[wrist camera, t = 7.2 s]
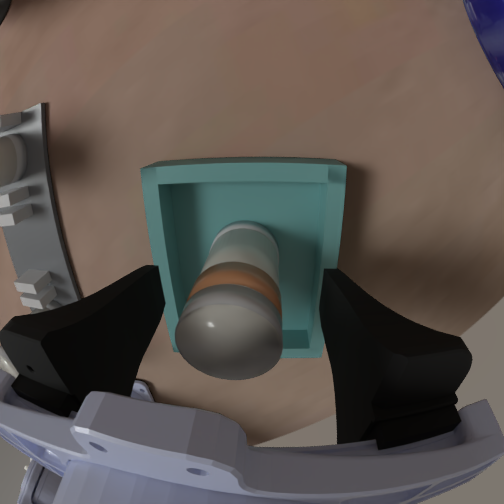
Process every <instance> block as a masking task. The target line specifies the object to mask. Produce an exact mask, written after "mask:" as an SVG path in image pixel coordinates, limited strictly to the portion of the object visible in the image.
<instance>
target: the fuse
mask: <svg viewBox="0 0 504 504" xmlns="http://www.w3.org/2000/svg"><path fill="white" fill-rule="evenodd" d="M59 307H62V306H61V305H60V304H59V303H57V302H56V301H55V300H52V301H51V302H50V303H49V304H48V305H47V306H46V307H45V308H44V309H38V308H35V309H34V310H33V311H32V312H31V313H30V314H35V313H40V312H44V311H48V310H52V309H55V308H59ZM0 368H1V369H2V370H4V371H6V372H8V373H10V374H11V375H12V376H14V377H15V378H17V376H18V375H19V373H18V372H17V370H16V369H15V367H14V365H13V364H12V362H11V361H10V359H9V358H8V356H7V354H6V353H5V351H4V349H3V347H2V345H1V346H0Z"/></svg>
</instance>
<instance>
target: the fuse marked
mask: <svg viewBox="0 0 504 504" xmlns="http://www.w3.org/2000/svg"><path fill="white" fill-rule="evenodd" d="M278 266H279V248H278V243H277V241H276V239H275V237H274V235H273V234H272V233H271V231H270V230H269V229H267V228H266V227H265V226H263V225H261V224H259V223H257V222H254V221H249V220H240V221H235V222H232V223H230V224H228V225H226V226H224V227H223V228H222V229H221V230H220V231H219V232H218V233H217V235H216V237H215V239H214V241H213V243H212V246H211V248H210V251H209V255H208V257H207V259H206V262H205V264H204V266H203V268H202V271H201V273H200V275H199V276H198V278H197V279H196V281H195V283H194V285H193V287H192V290H191V292H190V294H189V297H188V299H187V301H186V304H185V306H184V309H183V311H182V314H181V316H180V319H179V321H178V323H177V326H176V329H175V343H176V346H177V348H178V350H179V352H180V354H181V355H182V357H183V358H184V359H185V360H186V361H187V362H188V363H189V364H190V365H192V366H193V367H194V368H196V369H197V370H199V371H201V372H203V373H205V374H207V375H210V376H213V377H216V378H221V379H227V380H244V379H250V378H254V377H257V376H260V375H262V374H264V373H266V372H268V371H269V370H270V369H272V368H273V367H274V366H275V365H276V364H277V362H278V361H279V359H280V357H281V355H282V351H283V333H282V302H281V294H280V290H279V268H278Z"/></svg>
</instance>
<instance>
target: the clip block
mask: <svg viewBox="0 0 504 504" xmlns="http://www.w3.org/2000/svg"><path fill="white" fill-rule="evenodd" d="M13 133H16V134H19V135H20V136H21V137H22V138H23V140H24V142H25V145H26V148H27V167H26V171H25V174H24V175H23V177H22V178H21V179H20V180H19V181H17V182H15V183H12V184H10V185H7V186H3V187H1V188H0V226H2V228H3V232H4V235H5V239H6V243H7V246H8V249H9V253H10V256H11V259H12V262H13V265H14V268H15V271H16V274H17V276H18V279H17V280H16V281H14V283H15V286H16V289H17V291H20V292H24V293H23V294H22V295H21V296H20V298H21V301H22V303H23V305H24V306H29V307H30V309H31V311H33V310H34V309H35V308H38V309H44V308H45V307H46V306H47V305H48V304H49V303H50V302H51V301H52V300H55V301H56V302H57V303H59V304H60V305H61V306H65V305H67V304H70V303H73V302H76V301H78V300H81V297H80V294H79V291H78V288H77V285H76V282H75V279H74V276H73V273H72V270H71V266H70V263H69V260H68V256H67V252H66V249H65V245H64V241H63V237H62V233H61V229H60V224H59V220H58V215H57V210H56V205H55V200H54V194H53V189H52V182H51V176H50V168H49V160H48V151H47V139H46V124H45V103H40V104H38V105H35V106H33V107H31V108H29V109H27V110H24V111H22V112H18V113H11V114H4V115H0V137H1V136H4V135H9V134H13Z"/></svg>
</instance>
